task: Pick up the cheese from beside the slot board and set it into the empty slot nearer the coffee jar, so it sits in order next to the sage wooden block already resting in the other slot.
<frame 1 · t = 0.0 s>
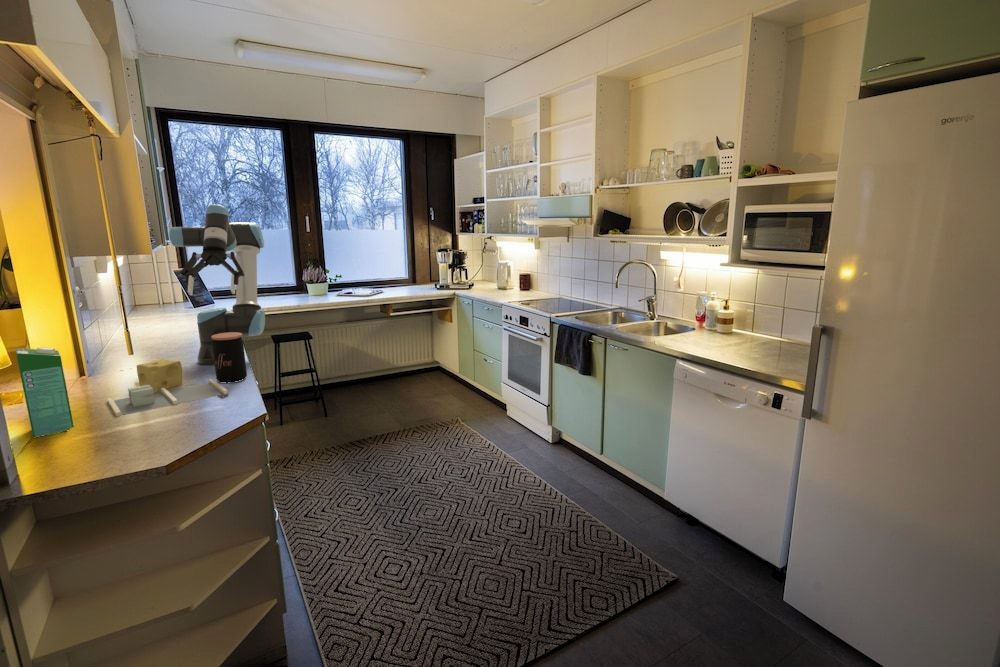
hand: (211, 293, 179), 36 cm above the countertop, tool tilted 35°, fingers open, 13 cm apart
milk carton: (53, 430, 150), on the countertop
sage block: (142, 402, 170), point 1 cm above the countertop, touching slot board
coffee jar: (232, 380, 199), on the countertop
cheese: (162, 389, 189), on the countertop
slot board: (169, 400, 176), on the countertop
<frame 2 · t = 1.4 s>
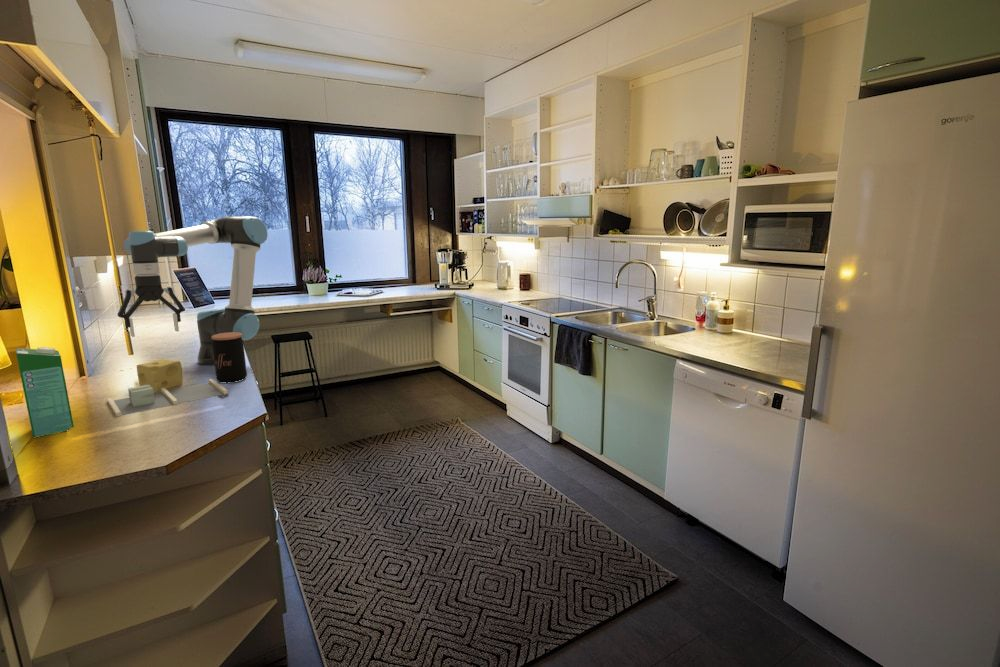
hand: (155, 333, 185), 21 cm above the countertop, tool pointing down, fingers open, 13 cm apart
nothing on the countertop moved.
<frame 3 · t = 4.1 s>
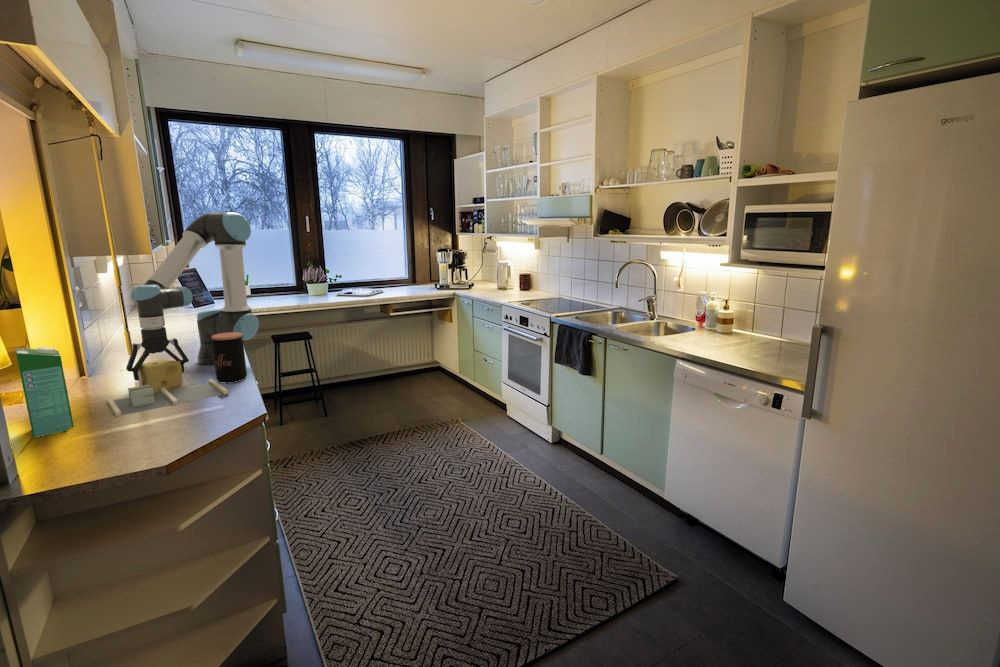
hand: (161, 384, 188), 1 cm above the countertop, tool pointing down, fingers closed on cheese, 12 cm apart
cheese: (161, 388, 189), on the countertop, touching gripper
everything else where it was.
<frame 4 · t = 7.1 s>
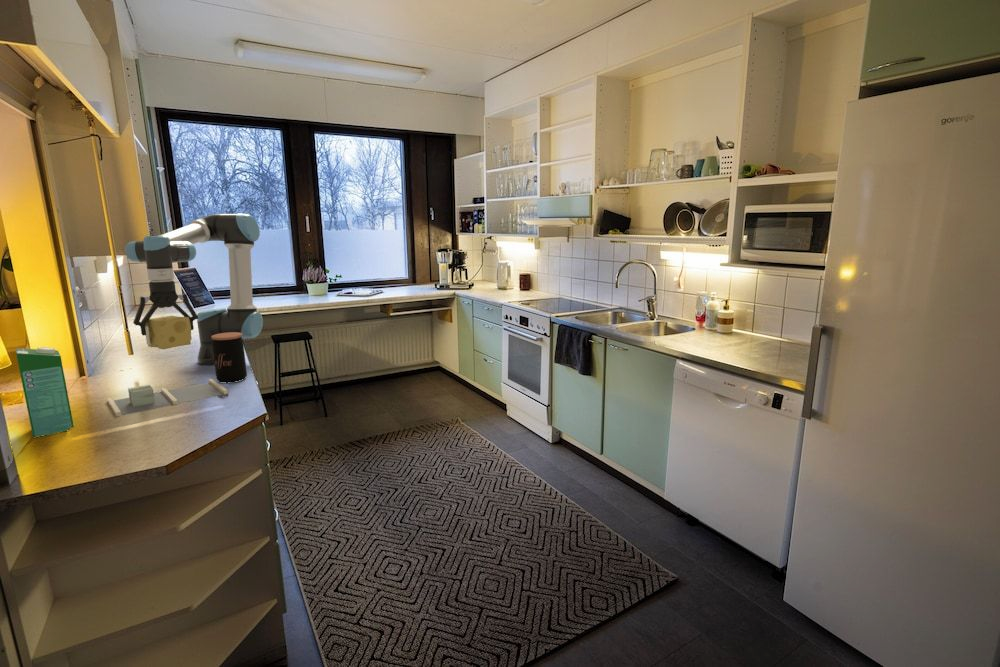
hand: (169, 341, 181), 19 cm above the countertop, tool pointing down, fingers closed on cheese, 12 cm apart
cheese: (169, 346, 181), point 17 cm above the countertop, touching gripper
everything else where it was.
when the fingers open (4 cm above the countertop, at t = 10.5 s): cheese drops 1 cm, resting on slot board.
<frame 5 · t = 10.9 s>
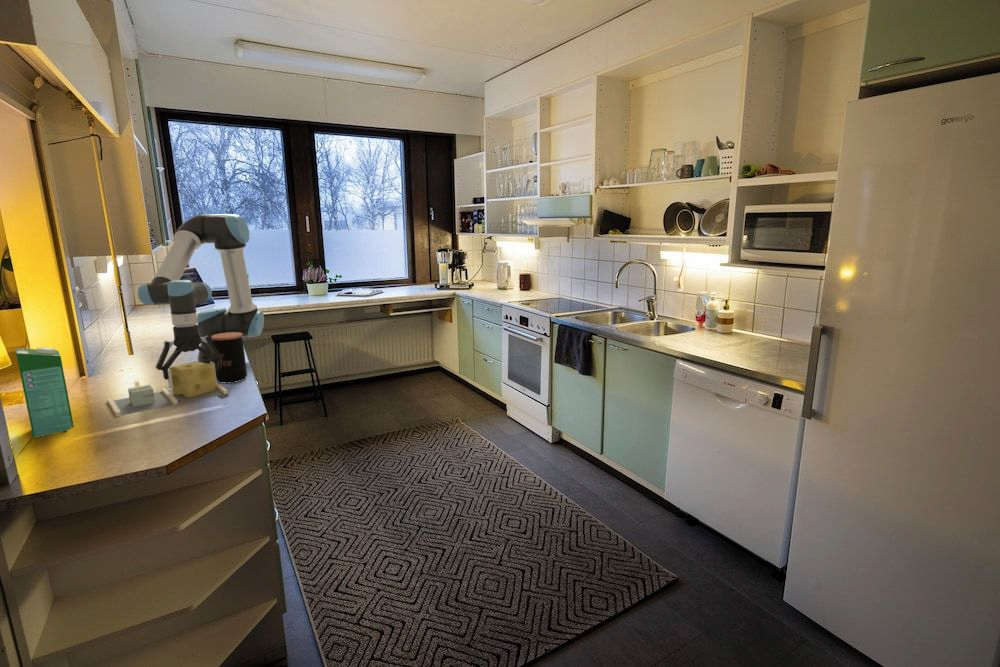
hand: (193, 383, 180), 4 cm above the countertop, tool pointing down, fingers open, 13 cm apart
cheese: (194, 392, 181), point 1 cm above the countertop, touching slot board
everything else where it was.
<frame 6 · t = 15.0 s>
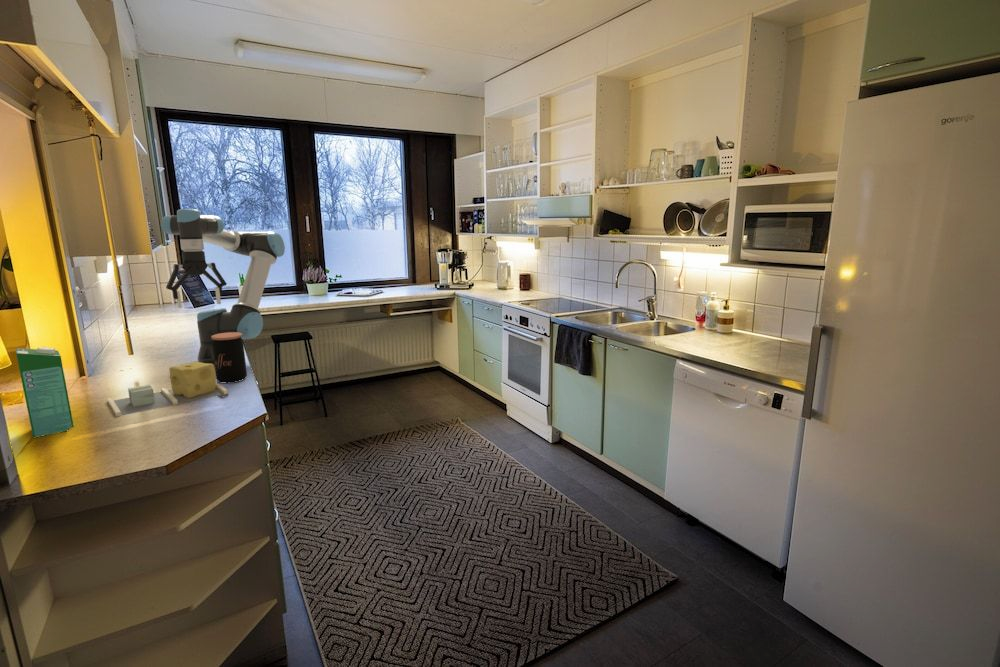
hand: (199, 305, 198), 29 cm above the countertop, tool pointing down, fingers open, 13 cm apart
nothing on the countertop moved.
at the end: cheese inside the target area on the slot board (0.1 cm from its centre), point 0.8 cm above the slot board's base; the gripper is holding nothing; sage block moved 0.1 cm from its start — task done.
